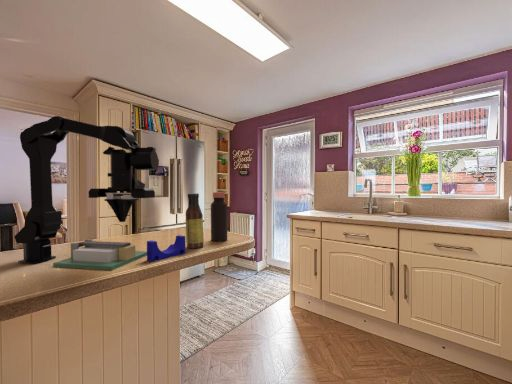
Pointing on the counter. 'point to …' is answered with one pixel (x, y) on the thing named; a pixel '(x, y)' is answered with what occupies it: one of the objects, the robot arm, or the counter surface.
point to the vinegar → (218, 217)
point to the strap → (104, 244)
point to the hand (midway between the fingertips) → (122, 221)
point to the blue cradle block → (171, 251)
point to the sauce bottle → (194, 222)
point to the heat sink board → (98, 264)
